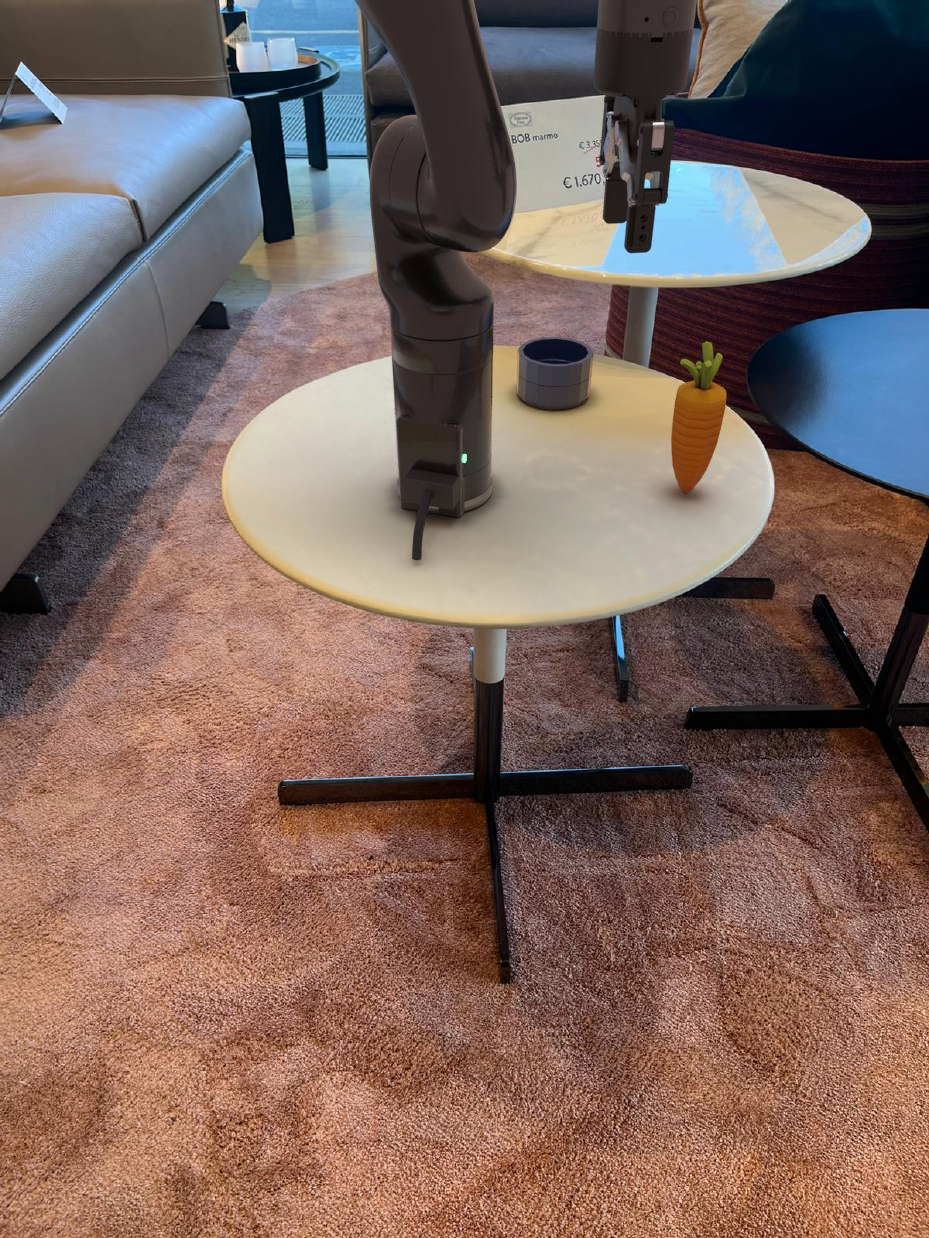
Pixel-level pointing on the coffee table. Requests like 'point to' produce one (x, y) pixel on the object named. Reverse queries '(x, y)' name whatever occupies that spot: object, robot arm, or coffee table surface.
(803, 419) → the coffee table surface
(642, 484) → the coffee table surface
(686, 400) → the carrot
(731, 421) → the coffee table surface
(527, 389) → the cylindrical container
